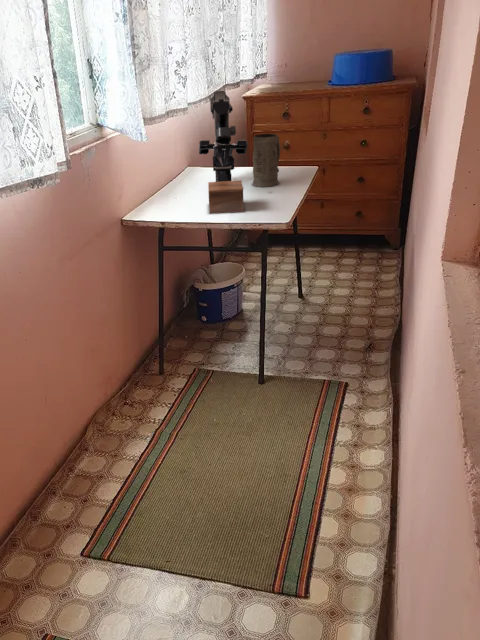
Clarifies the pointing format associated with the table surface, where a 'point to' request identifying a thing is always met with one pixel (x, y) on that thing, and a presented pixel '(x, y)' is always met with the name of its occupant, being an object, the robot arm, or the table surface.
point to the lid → (225, 186)
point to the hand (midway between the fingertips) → (223, 166)
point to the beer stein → (266, 160)
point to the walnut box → (226, 202)
